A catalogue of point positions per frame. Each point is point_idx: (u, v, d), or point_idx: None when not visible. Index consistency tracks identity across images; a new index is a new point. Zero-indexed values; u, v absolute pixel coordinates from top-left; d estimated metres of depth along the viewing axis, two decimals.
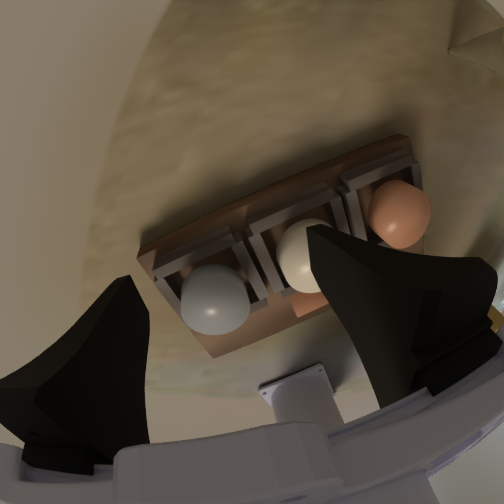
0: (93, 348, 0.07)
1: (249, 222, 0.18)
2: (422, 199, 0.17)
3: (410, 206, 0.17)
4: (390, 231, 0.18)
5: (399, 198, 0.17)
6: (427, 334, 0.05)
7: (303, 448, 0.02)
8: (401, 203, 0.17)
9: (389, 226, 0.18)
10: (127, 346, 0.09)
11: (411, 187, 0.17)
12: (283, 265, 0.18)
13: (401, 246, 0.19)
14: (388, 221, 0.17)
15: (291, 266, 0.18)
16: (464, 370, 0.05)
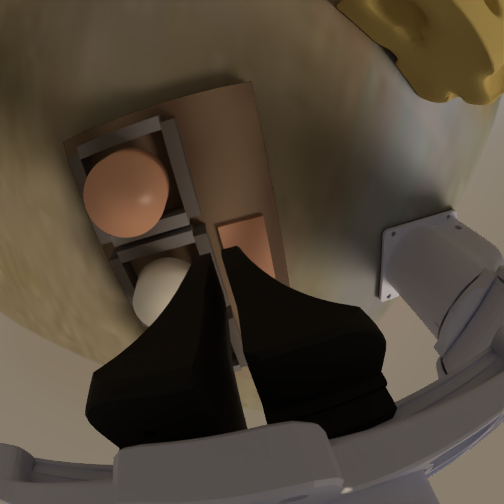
0: (207, 324, 0.07)
1: (143, 323, 0.20)
2: (96, 177, 0.13)
3: (105, 197, 0.13)
4: (137, 224, 0.14)
5: (96, 217, 0.13)
6: (270, 394, 0.05)
7: (303, 448, 0.02)
8: (101, 213, 0.13)
9: (130, 227, 0.14)
10: (220, 325, 0.09)
11: None
12: None
13: (162, 202, 0.14)
14: (123, 229, 0.14)
15: None
16: None
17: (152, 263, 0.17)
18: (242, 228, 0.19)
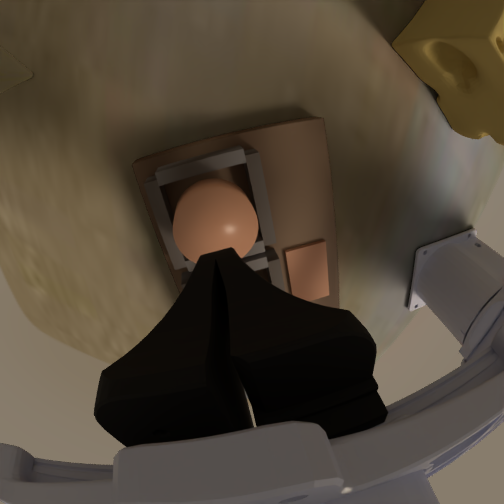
0: (216, 322, 0.07)
1: None
2: (189, 209, 0.14)
3: (197, 229, 0.15)
4: None
5: (184, 247, 0.15)
6: (259, 397, 0.05)
7: (303, 448, 0.02)
8: (191, 244, 0.15)
9: None
10: (227, 324, 0.09)
11: (173, 225, 0.15)
12: None
13: (254, 235, 0.15)
14: None
15: None
16: None
17: None
18: (307, 252, 0.21)
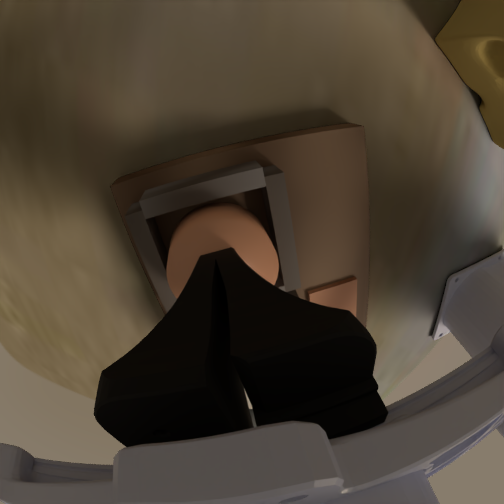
0: (215, 322, 0.07)
1: None
2: (188, 248, 0.11)
3: None
4: None
5: None
6: (259, 397, 0.05)
7: (303, 448, 0.02)
8: None
9: None
10: (226, 323, 0.09)
11: (167, 267, 0.11)
12: None
13: (272, 278, 0.12)
14: None
15: None
16: None
17: None
18: (334, 293, 0.16)
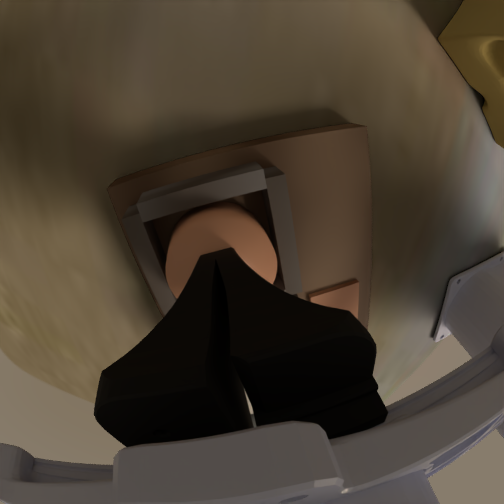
0: (216, 322, 0.07)
1: None
2: (186, 247, 0.11)
3: None
4: None
5: None
6: (259, 397, 0.05)
7: (303, 448, 0.02)
8: None
9: None
10: (227, 324, 0.09)
11: (166, 265, 0.11)
12: None
13: (271, 277, 0.12)
14: None
15: None
16: None
17: None
18: (336, 296, 0.16)
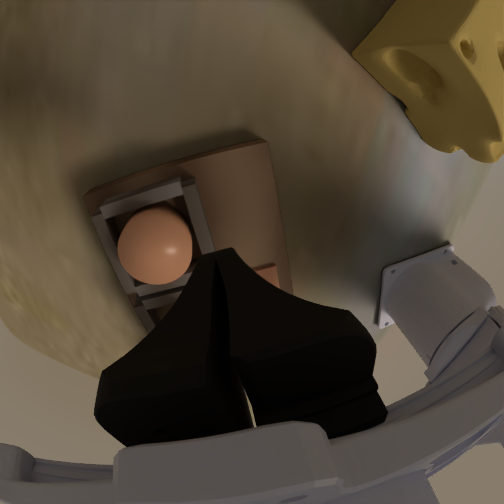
0: (216, 321, 0.07)
1: None
2: (129, 235, 0.15)
3: (138, 252, 0.16)
4: (166, 274, 0.17)
5: (129, 267, 0.16)
6: (259, 397, 0.05)
7: (303, 448, 0.02)
8: (134, 264, 0.16)
9: (160, 276, 0.17)
10: (227, 323, 0.09)
11: None
12: None
13: (188, 256, 0.17)
14: (154, 278, 0.17)
15: None
16: None
17: None
18: None
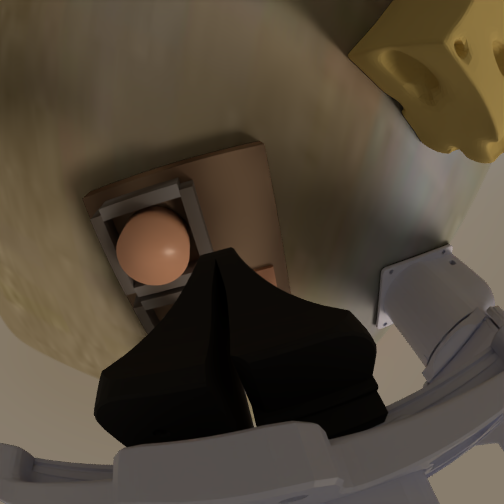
0: (215, 322, 0.07)
1: None
2: (128, 236, 0.16)
3: (136, 253, 0.16)
4: (164, 275, 0.17)
5: (128, 269, 0.17)
6: (259, 397, 0.05)
7: (303, 448, 0.02)
8: (133, 265, 0.16)
9: (158, 277, 0.17)
10: (226, 324, 0.09)
11: None
12: None
13: (186, 258, 0.17)
14: (153, 279, 0.17)
15: None
16: None
17: None
18: None
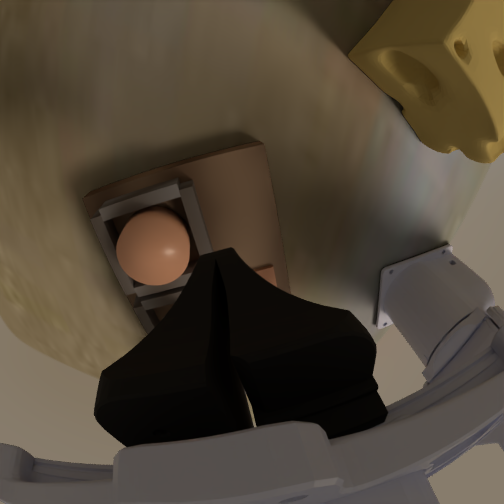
0: (215, 322, 0.07)
1: None
2: (128, 236, 0.16)
3: (136, 253, 0.16)
4: (164, 275, 0.17)
5: (128, 269, 0.17)
6: (259, 397, 0.05)
7: (303, 448, 0.02)
8: (133, 265, 0.16)
9: (158, 277, 0.17)
10: (226, 324, 0.09)
11: None
12: None
13: (186, 258, 0.17)
14: (153, 279, 0.17)
15: None
16: None
17: None
18: None
